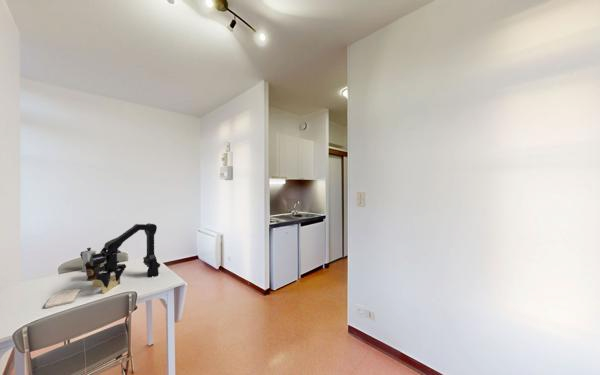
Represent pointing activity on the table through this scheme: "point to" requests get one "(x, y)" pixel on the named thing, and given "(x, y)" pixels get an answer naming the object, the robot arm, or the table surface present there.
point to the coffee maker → (86, 257)
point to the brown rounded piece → (91, 271)
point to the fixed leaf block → (100, 282)
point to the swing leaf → (110, 285)
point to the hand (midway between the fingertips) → (111, 284)
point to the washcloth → (63, 298)
